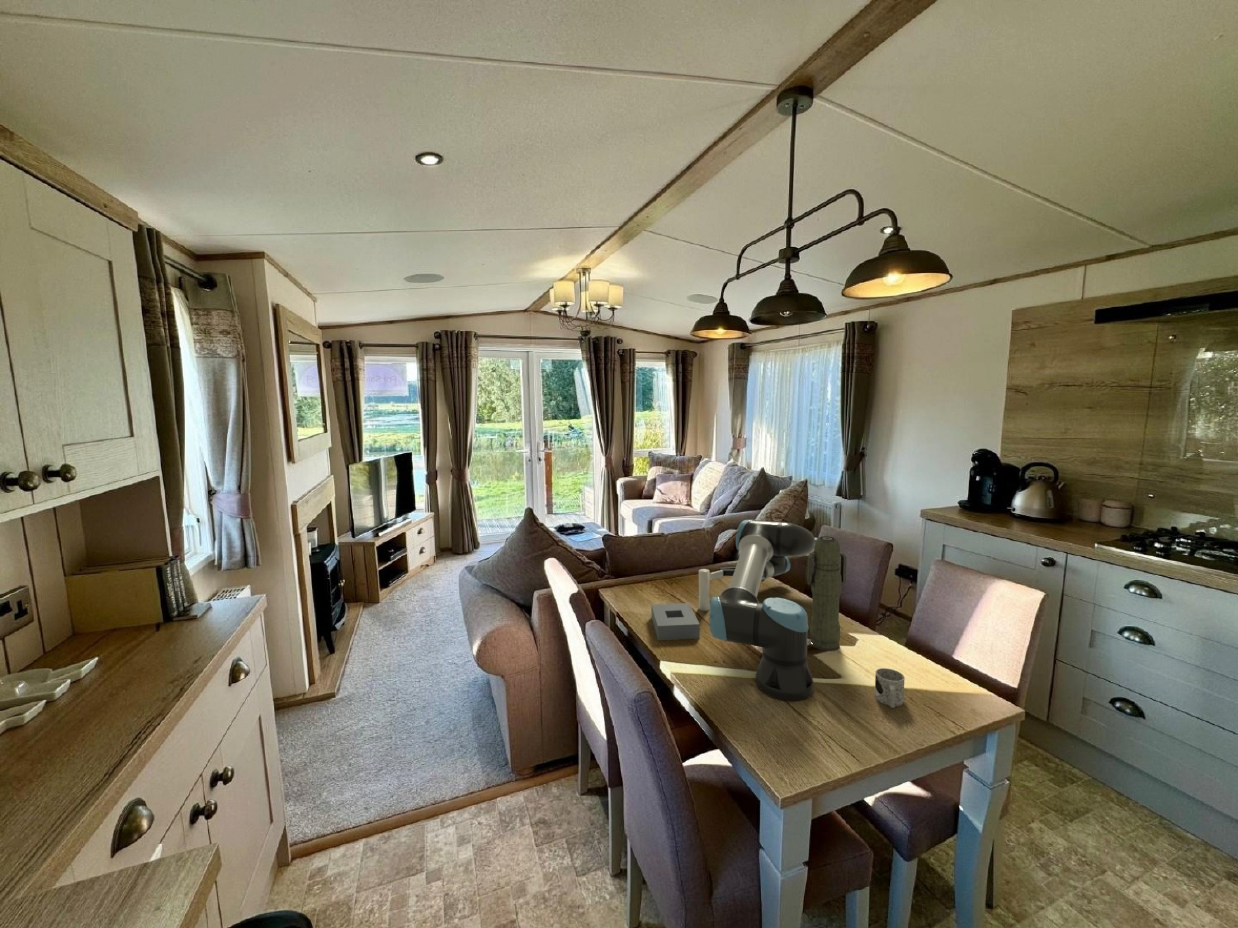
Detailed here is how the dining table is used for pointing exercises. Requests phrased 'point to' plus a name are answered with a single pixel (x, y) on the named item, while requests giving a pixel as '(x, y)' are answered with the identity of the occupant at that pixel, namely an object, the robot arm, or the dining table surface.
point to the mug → (889, 687)
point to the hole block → (675, 621)
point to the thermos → (826, 592)
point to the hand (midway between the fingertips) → (722, 581)
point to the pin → (704, 589)
